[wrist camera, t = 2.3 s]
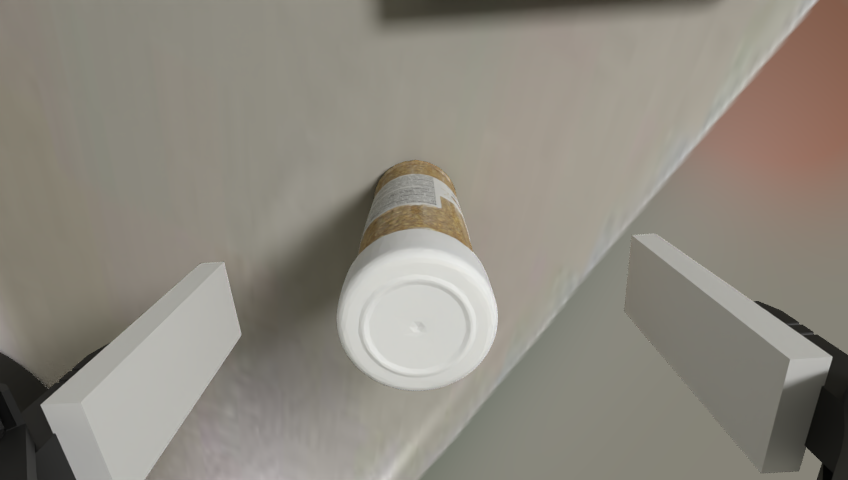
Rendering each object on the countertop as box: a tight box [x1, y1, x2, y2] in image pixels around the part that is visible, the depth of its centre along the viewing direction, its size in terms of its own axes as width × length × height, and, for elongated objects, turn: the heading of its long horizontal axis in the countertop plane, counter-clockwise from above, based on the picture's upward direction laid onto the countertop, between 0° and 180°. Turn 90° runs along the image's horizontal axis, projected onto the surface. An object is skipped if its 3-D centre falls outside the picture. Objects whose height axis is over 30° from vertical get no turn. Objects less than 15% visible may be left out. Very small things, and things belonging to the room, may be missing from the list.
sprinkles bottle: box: [336, 160, 498, 391], centre depth 19 cm, size 5×5×14 cm
